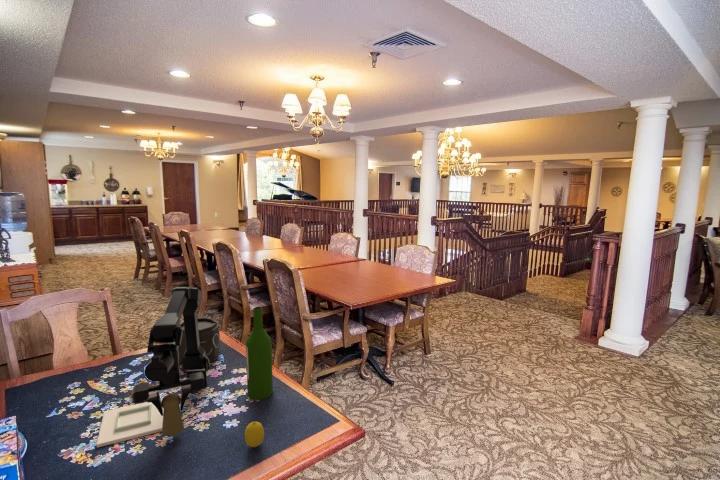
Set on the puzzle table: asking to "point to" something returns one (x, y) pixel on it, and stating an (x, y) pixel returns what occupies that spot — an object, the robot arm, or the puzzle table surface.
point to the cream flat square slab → (129, 423)
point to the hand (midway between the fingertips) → (171, 412)
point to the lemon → (254, 434)
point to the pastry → (137, 384)
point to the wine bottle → (259, 360)
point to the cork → (172, 415)
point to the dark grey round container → (204, 338)
